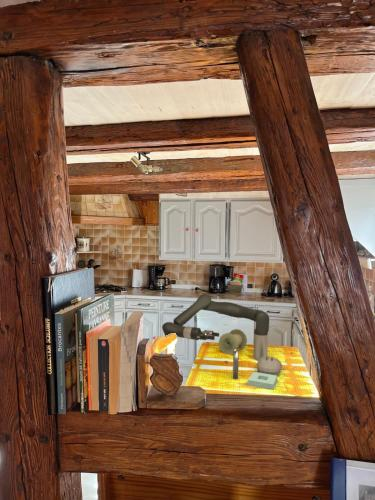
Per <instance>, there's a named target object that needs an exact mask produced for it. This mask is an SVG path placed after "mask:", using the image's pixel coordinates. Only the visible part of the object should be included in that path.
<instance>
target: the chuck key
mask: <svg viewBox="0 0 375 500" xmlns="http://www.w3.org/2000/svg"><path fill="white" fill-rule="evenodd" d="M238 349H239V347H236V348H235V349H234V350H233V354H232V357H233V358H232V379H234V380H239V363H240V362H239V359H240V356H239V354H240V350H238Z"/></svg>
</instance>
